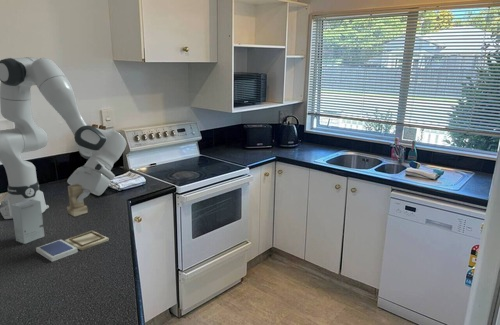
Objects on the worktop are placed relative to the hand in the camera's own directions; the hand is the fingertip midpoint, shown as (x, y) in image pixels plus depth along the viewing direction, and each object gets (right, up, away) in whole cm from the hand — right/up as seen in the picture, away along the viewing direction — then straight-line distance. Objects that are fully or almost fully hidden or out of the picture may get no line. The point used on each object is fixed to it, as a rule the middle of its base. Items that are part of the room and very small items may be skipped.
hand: (74, 199), depth 136 cm
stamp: (0, -6, +2) cm, 6 cm away
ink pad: (-5, -19, -2) cm, 19 cm away
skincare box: (-21, -16, +8) cm, 28 cm away
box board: (+2, -16, +7) cm, 18 cm away
